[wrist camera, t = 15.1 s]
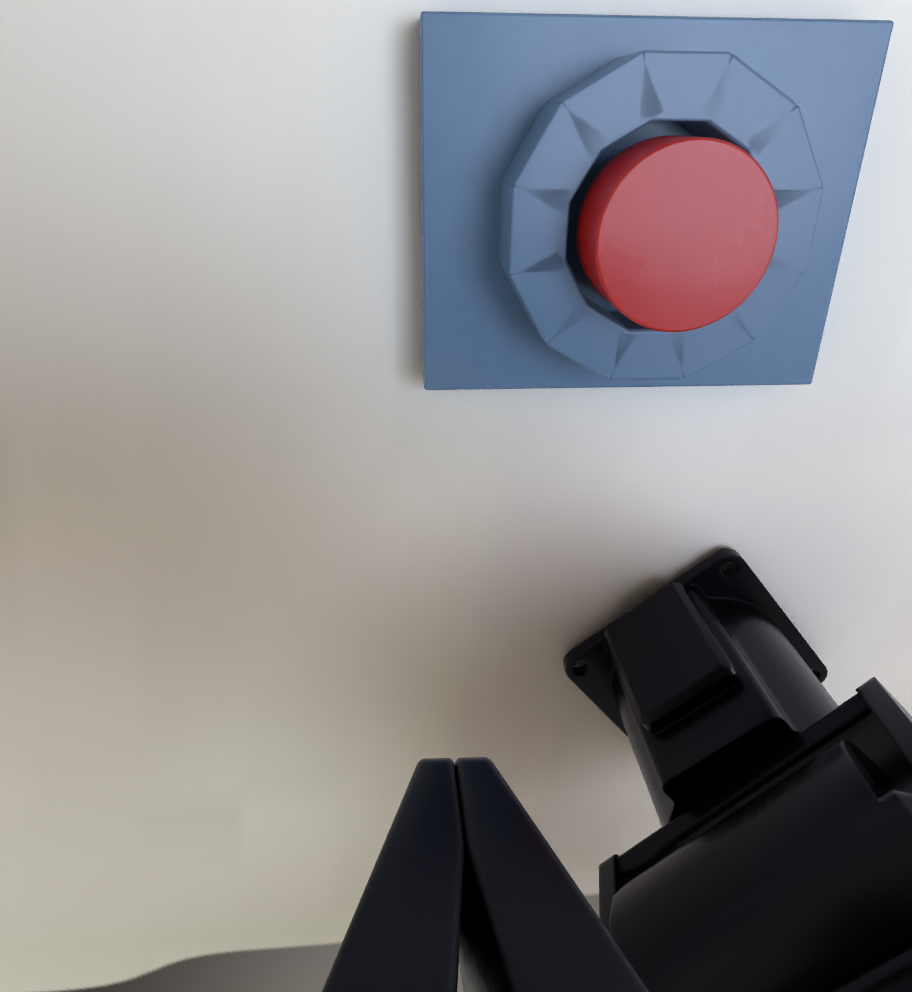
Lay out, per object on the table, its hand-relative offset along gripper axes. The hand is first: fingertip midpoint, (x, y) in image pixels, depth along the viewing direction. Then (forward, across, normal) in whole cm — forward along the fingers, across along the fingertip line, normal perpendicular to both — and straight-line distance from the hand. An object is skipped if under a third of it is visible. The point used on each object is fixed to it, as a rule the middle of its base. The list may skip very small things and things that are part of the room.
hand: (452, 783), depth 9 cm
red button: (+10, -5, -5) cm, 12 cm away
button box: (+13, -5, -5) cm, 15 cm away
